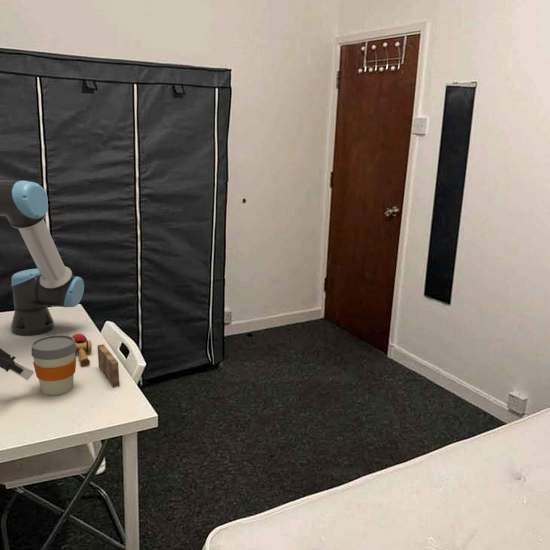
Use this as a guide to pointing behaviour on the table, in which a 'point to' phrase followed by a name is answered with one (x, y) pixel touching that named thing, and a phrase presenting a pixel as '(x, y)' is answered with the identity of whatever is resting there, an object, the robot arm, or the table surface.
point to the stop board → (108, 365)
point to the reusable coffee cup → (54, 363)
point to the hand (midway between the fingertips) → (30, 375)
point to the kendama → (83, 348)
